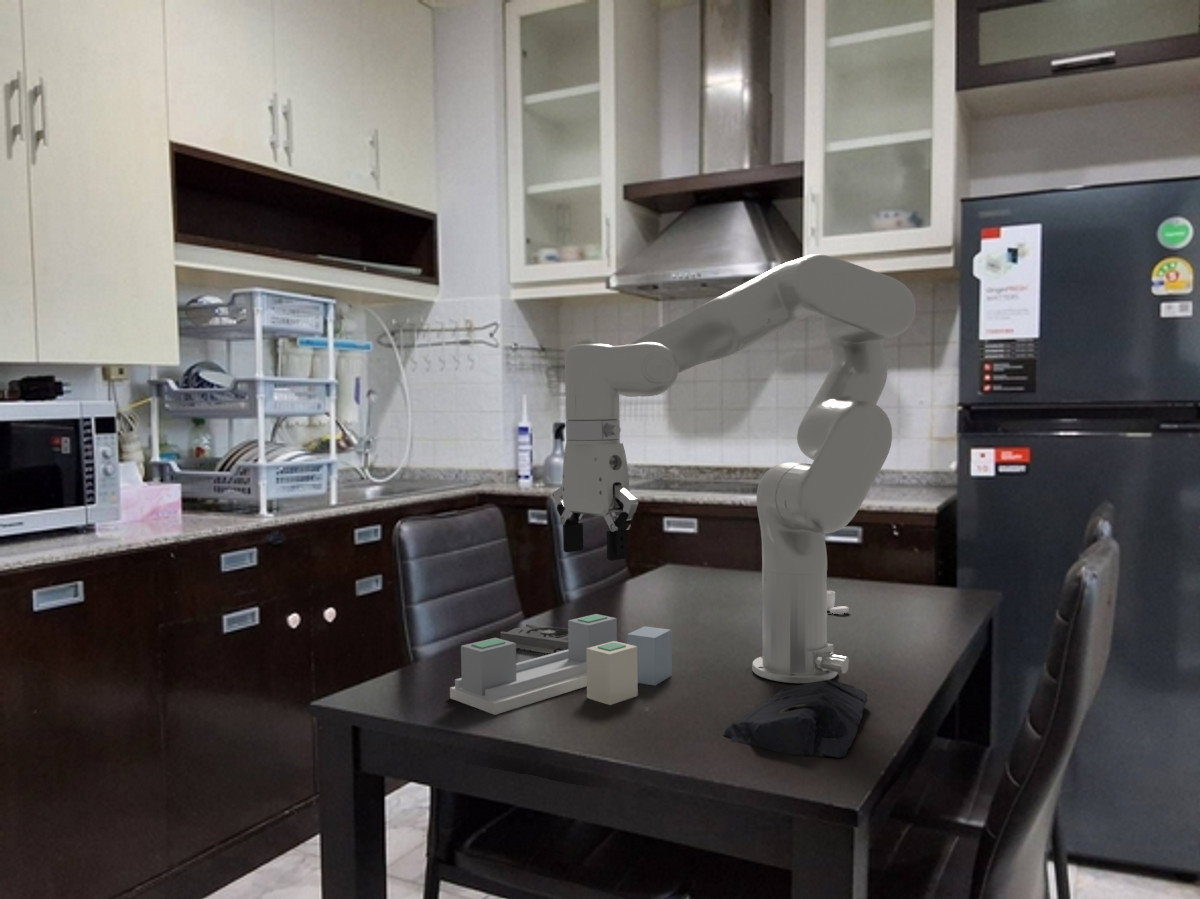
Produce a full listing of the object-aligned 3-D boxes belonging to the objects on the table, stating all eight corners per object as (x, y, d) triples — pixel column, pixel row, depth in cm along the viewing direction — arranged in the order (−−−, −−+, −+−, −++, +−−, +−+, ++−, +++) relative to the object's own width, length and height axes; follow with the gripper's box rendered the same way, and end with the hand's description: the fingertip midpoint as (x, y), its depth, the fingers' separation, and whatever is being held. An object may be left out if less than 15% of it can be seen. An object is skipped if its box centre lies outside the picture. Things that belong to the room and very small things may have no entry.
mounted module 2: (617, 656, 140) (616, 617, 140) (589, 665, 136) (588, 623, 136) (596, 651, 144) (596, 612, 143) (568, 659, 139) (568, 619, 139)
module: (671, 675, 137) (671, 629, 137) (655, 685, 132) (654, 637, 132) (644, 671, 139) (644, 626, 139) (627, 681, 134) (627, 634, 134)
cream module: (637, 695, 128) (637, 644, 127) (610, 705, 124) (609, 652, 123) (614, 689, 131) (614, 639, 130) (587, 698, 127) (586, 646, 127)
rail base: (630, 672, 138) (630, 653, 138) (494, 714, 120) (494, 693, 120) (584, 660, 146) (584, 642, 145) (450, 698, 127) (449, 677, 127)
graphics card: (616, 626, 155) (576, 640, 145) (617, 648, 155) (577, 664, 145) (537, 616, 164) (494, 629, 154) (537, 637, 164) (494, 651, 154)
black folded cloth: (886, 711, 121) (887, 675, 121) (841, 768, 102) (841, 726, 102) (776, 694, 129) (776, 660, 129) (714, 744, 110) (714, 705, 110)
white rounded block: (854, 618, 174) (854, 597, 174) (812, 618, 174) (812, 597, 174) (842, 608, 183) (843, 587, 183) (803, 608, 183) (803, 588, 183)
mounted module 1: (516, 686, 126) (515, 641, 126) (481, 696, 122) (481, 650, 122) (496, 679, 129) (495, 636, 129) (461, 689, 125) (460, 644, 125)
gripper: (654, 433, 123) (656, 559, 124) (575, 431, 136) (577, 545, 137) (612, 435, 118) (614, 566, 119) (534, 433, 132) (537, 551, 132)
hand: (594, 555), depth 128 cm, fingers open, 9 cm apart
